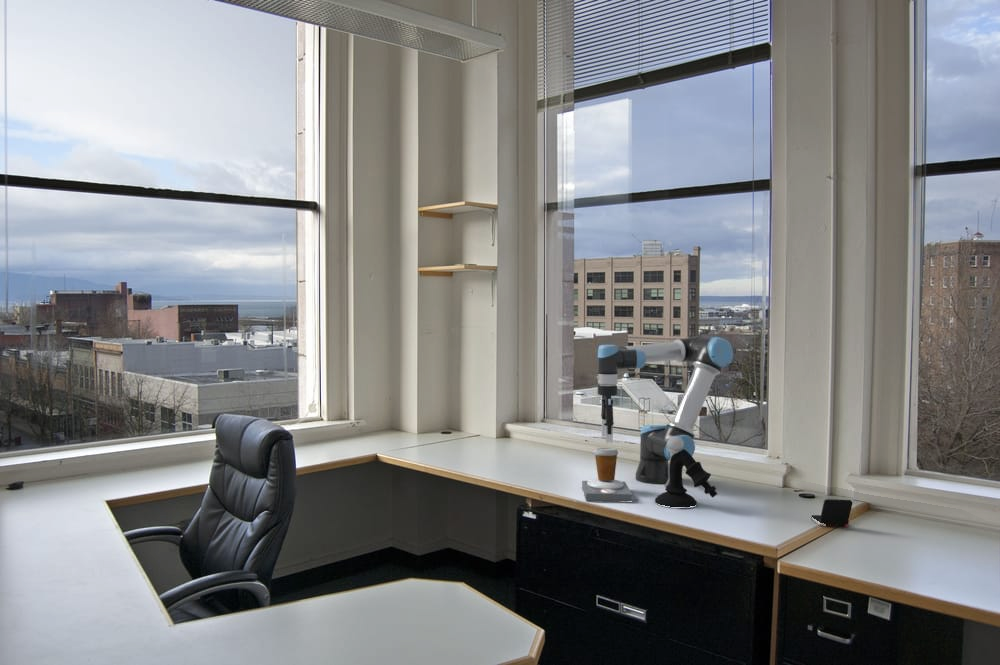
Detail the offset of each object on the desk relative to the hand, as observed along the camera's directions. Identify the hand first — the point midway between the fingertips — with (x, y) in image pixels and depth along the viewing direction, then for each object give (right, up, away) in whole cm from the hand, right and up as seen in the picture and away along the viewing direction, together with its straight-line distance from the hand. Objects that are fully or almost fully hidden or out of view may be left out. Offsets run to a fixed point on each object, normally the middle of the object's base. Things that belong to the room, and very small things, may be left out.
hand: (606, 439), depth 291 cm
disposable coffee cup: (0, -17, +4) cm, 17 cm away
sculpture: (+27, -22, -16) cm, 38 cm away
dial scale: (-1, -21, -2) cm, 21 cm away
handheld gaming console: (+71, -24, -37) cm, 83 cm away
